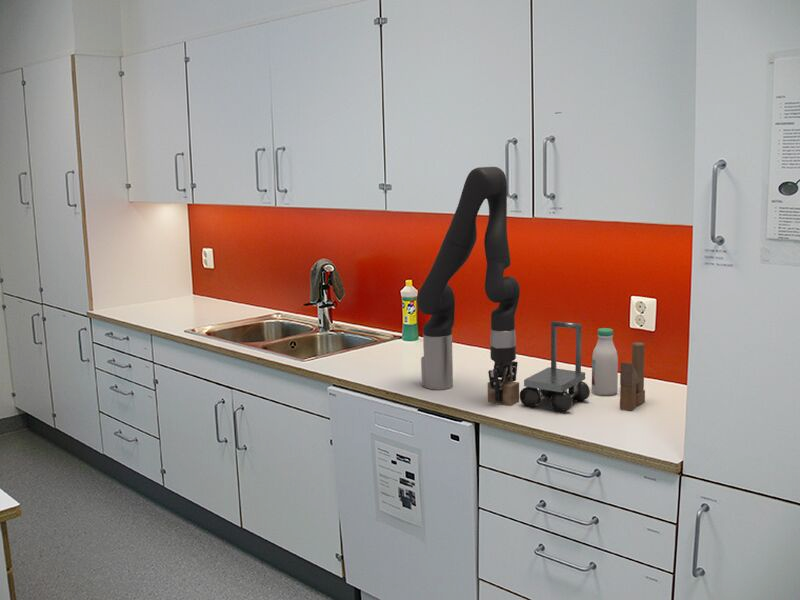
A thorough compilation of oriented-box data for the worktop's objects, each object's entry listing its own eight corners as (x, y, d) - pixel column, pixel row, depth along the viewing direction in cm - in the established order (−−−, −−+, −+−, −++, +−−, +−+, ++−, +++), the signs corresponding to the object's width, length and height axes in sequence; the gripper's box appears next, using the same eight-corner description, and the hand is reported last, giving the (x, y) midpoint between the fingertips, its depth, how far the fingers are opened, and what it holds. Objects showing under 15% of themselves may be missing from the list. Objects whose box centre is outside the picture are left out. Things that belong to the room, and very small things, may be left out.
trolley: (518, 406, 250) (517, 329, 246) (542, 392, 263) (543, 319, 259) (568, 415, 241) (568, 335, 237) (591, 400, 254) (592, 324, 250)
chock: (487, 401, 256) (487, 382, 255) (496, 397, 260) (495, 378, 259) (511, 406, 251) (511, 386, 250) (519, 401, 255) (519, 382, 254)
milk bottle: (622, 392, 261) (623, 328, 258) (608, 397, 256) (609, 333, 253) (600, 387, 267) (601, 325, 263) (586, 393, 262) (587, 329, 258)
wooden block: (619, 409, 245) (620, 348, 242) (633, 399, 254) (634, 341, 250) (631, 411, 243) (632, 350, 240) (645, 401, 251) (646, 342, 248)
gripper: (503, 337, 260) (504, 391, 263) (479, 347, 249) (480, 403, 252) (525, 340, 256) (525, 394, 259) (502, 350, 244) (502, 407, 247)
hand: (503, 398), depth 255 cm, fingers closed on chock, 5 cm apart
